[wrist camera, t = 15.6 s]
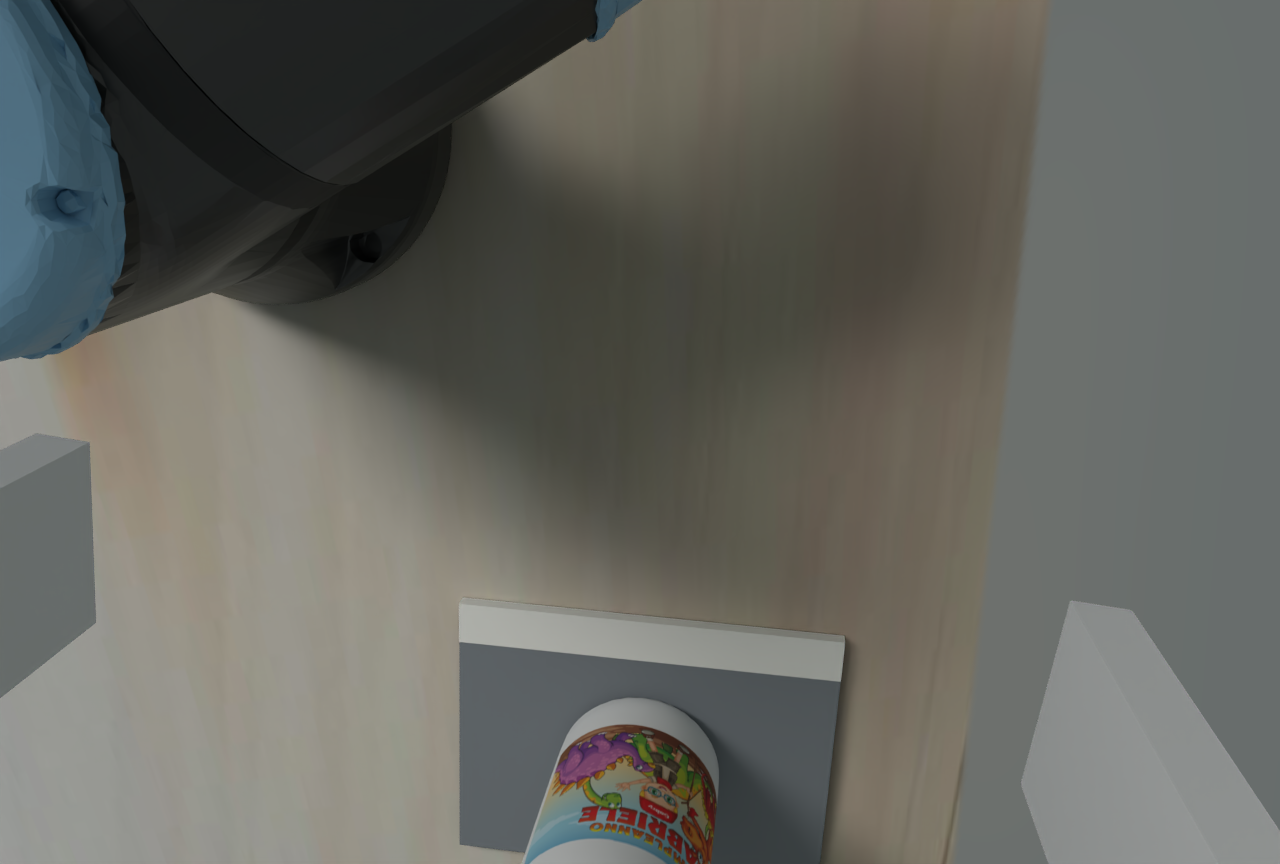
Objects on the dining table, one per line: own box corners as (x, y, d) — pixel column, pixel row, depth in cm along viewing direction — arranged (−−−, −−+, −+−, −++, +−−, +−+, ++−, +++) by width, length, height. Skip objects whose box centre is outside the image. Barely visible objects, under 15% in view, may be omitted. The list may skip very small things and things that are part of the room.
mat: (462, 836, 57) (459, 845, 56) (463, 597, 53) (459, 603, 52) (816, 880, 55) (817, 890, 54) (844, 635, 51) (845, 642, 50)
